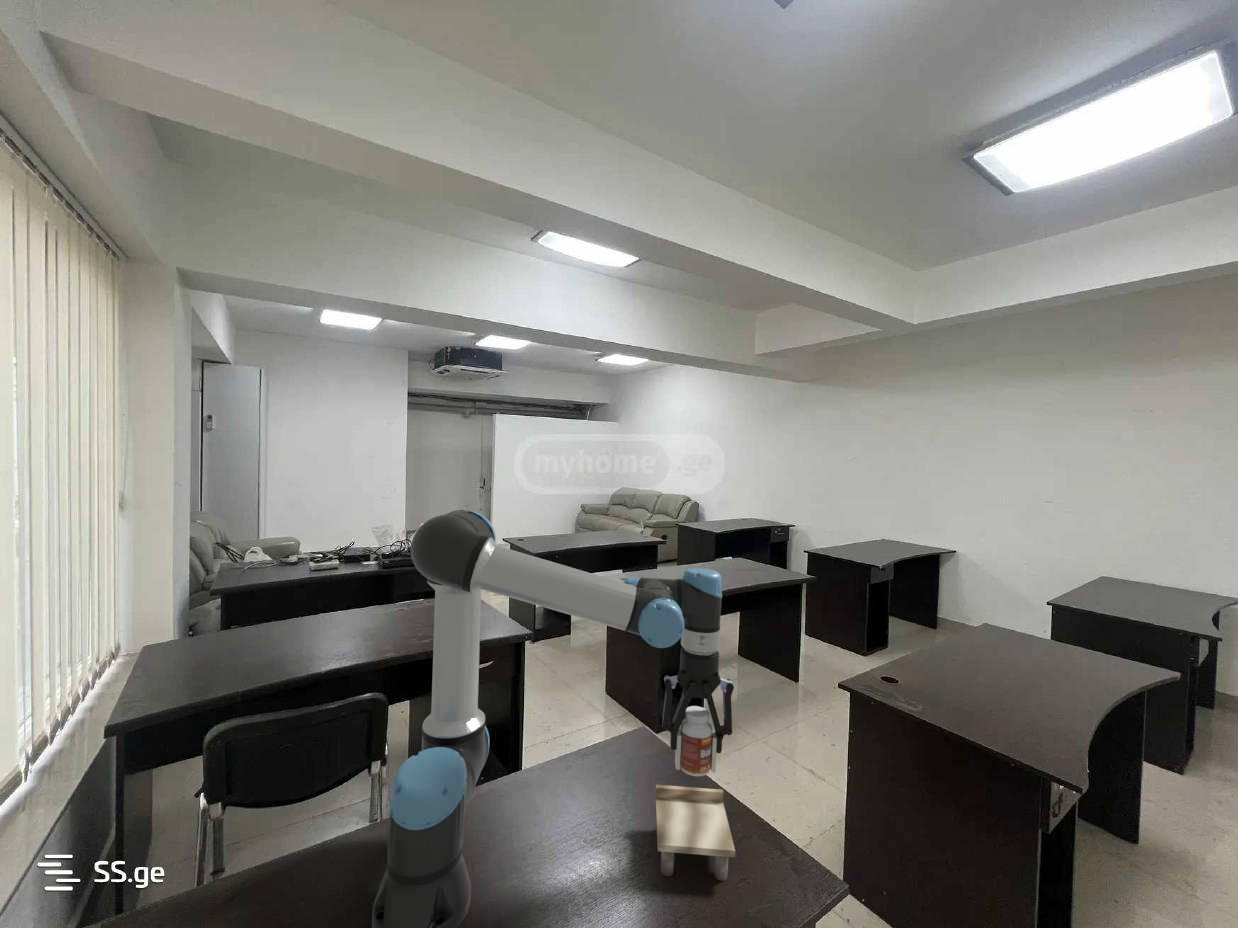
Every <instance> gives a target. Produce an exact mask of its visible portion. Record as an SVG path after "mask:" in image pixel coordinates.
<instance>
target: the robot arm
mask: <svg viewBox="0 0 1238 928" xmlns="http://www.w3.org/2000/svg"><path fill="white" fill-rule="evenodd" d="M494 528H495V527H494V526H493V524H492V523H491V521H490V520H489V519H488V518H487V517H486V516H484V514H482V513H480V512H477V511H476V510H475V511H474V510H467V509H461V510H459V509H457V510H453V511H450V512H448V513H445V514H441V515H437V516H434V517H432V518H429V519H428V520H426V521H424V523H422V524H421V525H420V526H419V527H418V529H416V532H415V533H414V534H413V538H412V540H411V543H410V544H411V545H410V556H411V561H412V563H413V564H414V567H415V568H416V570H417V571H418V572H419V573H420V574H421V575H422V576H423V577H425V578H426V580H427V581H426V582H427V584H428V585H429V586H430V587H431V588H432V589H433V590H434V591H435V592H434V619H433V621H434V622H433V623H434V624H433V649H432V650H433V651H432V655H433V656H432V681H431V683H432V684H431V713H430V714H429V715H428V716H427V717H426V718H425V719H424V721H423V723H422V727H421V730H422V731H421V733H422V735H421V750H420V751H418V753H417V755H414V754H413V755H411V756H410V757H409V758H407V759H406V760H405V761H403V762H402V763H401V765H400V766H399V767H398V769H397V771H396V772H395V774H394V776H393V779H392V782H391V788H390V791H389V792H390V793H389V797H388V798H389V799H388V802H389V803H388V806H389V814H388V815H389V817H388V834H387V835H388V838H387V840H388V841H387V855H386V856H387V859H386V869H385V872H384V875H383V878H382V881H381V882H380V885H379V888H378V891H377V893H376V895H375V899H374V903H373V907H372V914H371V915H372V916H371V928H459V927H460V926H461V924H462V923H463V922H464V920H465V918H466V917H467V914H468V912H469V909H470V906H471V905H470V904H471V896H472V894H471V893H472V892H471V891H472V884H471V878H470V875H469V872H468V868H467V865H466V862H465V858H464V855H463V841H464V826H465V825H464V824H465V821H464V820H465V814H466V809H467V808H468V807H467V806H468V804H469V802H470V801H471V800H470V799H471V797H472V795H473V792H474V790H475V787H476V784H477V782H478V780H479V778H480V775H481V772H482V771H483V769H484V767H485V765H486V763H487V760H488V756H489V750H490V734H489V730H488V728H487V726H486V714H485V713H484V712H483V711H482V710H481V709H480V708H479V680H480V678H479V673H480V672H479V671H480V641H481V640H480V638H481V615H482V611H481V610H482V609H481V607H482V604H481V603H482V590H484V591H487V592H490V593H493V594H497V595H500V596H503V597H507V598H511V599H514V600H518V601H522V602H525V603H529V604H531V605H534V606H539V607H542V608H546V609H550V610H552V611H556V612H559V613H563V614H565V615H570V616H573V617H577V618H580V619H584V620H587V621H591V622H594V623H598V624H599V625H604V626H608V627H611V628H615V629H618V630H621V631H624V632H629V633H632V634H635V635H638V636H640V637H641V638H642V639H643V640H644V641H645V642H646V643H647V644H649V646H651V647H654V648H657V649H666V648H669V647H672V646H674V645H675V644H676V643H677V642H679V640H680V645H681V648H680V656H679V658H680V659H679V669H678V672H677V674H676V675H672V676H670V675H669V674H665V675H664V677H663V680H664V687H665V692H664V693H665V694H664V702H663V708H662V709H663V710H662V720H661V725H662V726H661V727H662V731H665V732H669V733H670V740H669V741H670V742H669V744H670V749H671V751H675V753H674V755H675V757H674V764H675V765H674V766H675V770H678V771H679V770H681V768H680V755H681V723H682V721H683V720H684V718H685V712H686V709H687V707H689V704H690V702H691V699H697V698H700V699H703V700H706V701H707V702H706V703H707V705H708V709H709V710H708V711H709V715H710V717H711V720H712V724H713V728H714V730H712V752H711V769H710V772H711V773H716V770H717V768H716V767H717V765H716V764H717V754H721V753H722V750H723V746H722V745H723V739H724V737H725V736H726V735H727V736H731V735H732V734H733V716H732V695H733V691H734V690H735V689H734V688H735V686H734V684H733V682H732V680H731V679H730V678H727V679H724V678H721V677H720V674H719V670H720V669H719V668H720V667H719V665H720V664H719V663H720V653H719V650H720V639H721V637H720V635H721V634H720V633H721V612H722V598H723V592H722V590H723V589H722V588H723V585H722V576H721V574H720V573H719V572H718V571H716V570H713V569H709V568H701V567H696V568H693V567H692V568H691V567H690V568H687V569H685V571H684V572H683V576H682V578H677V579H675V578H674V579H672V578H652V577H643V576H640V577H628V578H626V579H625V580H624V581H623V582H621V581H618V580H614V579H613V578H612V579H611V578H608V577H605V576H601V575H597V574H595V573H591V572H588V571H584V570H582V569H577V568H574V567H571V566H568V565H565V564H561V563H559V562H558V563H557V562H554V561H551V560H547V559H543V558H541V557H538V556H534V555H530V554H527V553H524V552H519V551H516V550H513V549H510V548H507V547H503V546H499V545H497V543H496V539H497V538H496V532H495V531H496V530H495V529H494ZM677 683H678V684H679V685H680V687H681V688H682V693H681V696H680V699H679V702H678V705H677V706H676V710H675V712H674V715H673V718H672V721H670V720H671V714H672V713H671V711H672V703H673V695H674V693H673V690H674V689H676V686H677ZM719 686H720V689H721V691H722V704H723V705H722V709H723V724H722V725H721V724H720V719H719V716H718V712H717V709H716V708H717V707H716V705H715V702H714V701H715V700H714V698H713V693H714V692H715V691H716V690H717V689H718V687H719Z"/></svg>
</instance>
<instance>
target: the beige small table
mask: <svg viewBox="0 0 1238 928" xmlns="http://www.w3.org/2000/svg"><path fill="white" fill-rule="evenodd" d="M724 794H725V793H724V789H722V788H721V789H720V788H718V789H717V788H708V787H707V788H705V787H704V788H703V787H695V786H694V787H691V786H678V785H666V784H664V785H663V784H655V820H656V821H655V824H656V843H657V845H656V846H657V852H661V853H660V870H659V871H660V873H661V874H662V875H663V876H665V877H671V876H673V874H674V863H675V862H674V861H675V853H676V854H687V855H688V854H689V855H698V856H699V855H701V856H710V857H711V856H712V857H714V869H713V870H714V873H713V874H714V877H715V879H716V880H718V881H721V882H722V881H727V879H728V876H729V875H728V872H729V858H736V849H735V845H734V840H733V837H732V832H731V829H730V824H729V820H728V815H727V811H726V808H725V805H724V804H725V803H724Z"/></svg>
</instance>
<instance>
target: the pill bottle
mask: <svg viewBox="0 0 1238 928" xmlns="http://www.w3.org/2000/svg"><path fill="white" fill-rule="evenodd" d="M680 731H681V755H680V770H682V772H683V773H685V774H686V775H688V776H692V777H704V776H706V775H708V774H709V773H710V772H711V752H712V731H713V728H712V724H711V723H710V711H709V710H707V708H705V707H701V706H698V705H690V706H687V709H686V712H685V714H684V718H683V720H682V722H681V725H680Z"/></svg>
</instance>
